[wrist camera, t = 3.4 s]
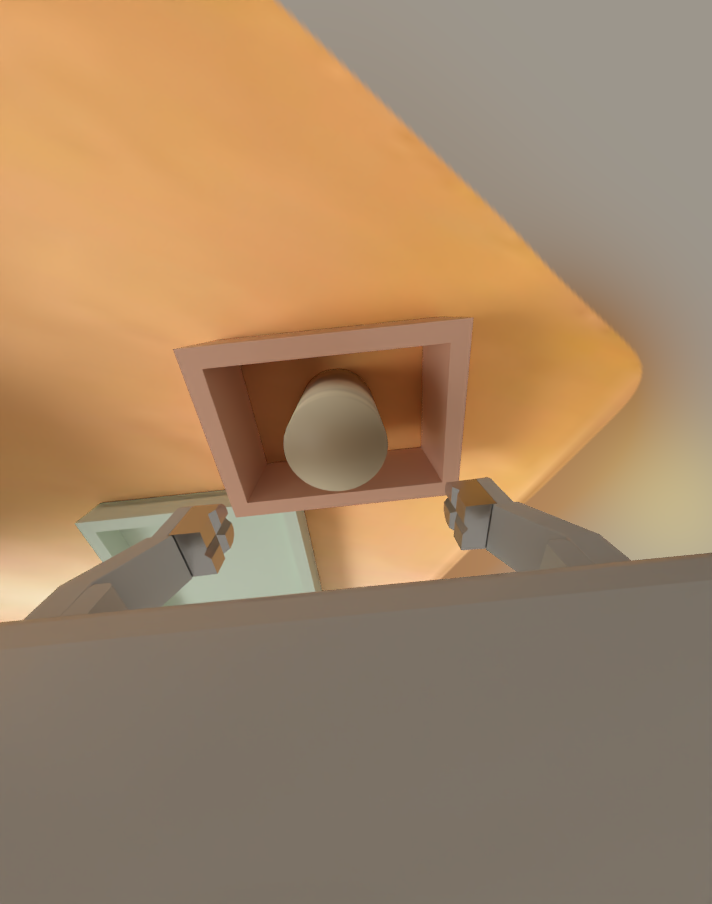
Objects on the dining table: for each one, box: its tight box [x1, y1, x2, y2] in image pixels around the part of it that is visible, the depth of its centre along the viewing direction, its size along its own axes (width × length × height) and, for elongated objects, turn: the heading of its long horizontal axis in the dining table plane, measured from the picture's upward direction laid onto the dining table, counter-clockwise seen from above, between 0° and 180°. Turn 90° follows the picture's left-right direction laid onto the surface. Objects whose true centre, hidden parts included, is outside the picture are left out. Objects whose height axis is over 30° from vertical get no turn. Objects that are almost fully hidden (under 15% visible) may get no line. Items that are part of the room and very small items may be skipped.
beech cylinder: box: [284, 369, 388, 491], centre depth 16 cm, size 5×5×7 cm
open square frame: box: [173, 317, 473, 517], centre depth 17 cm, size 10×14×5 cm
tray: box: [75, 490, 322, 607], centre depth 25 cm, size 16×16×2 cm
